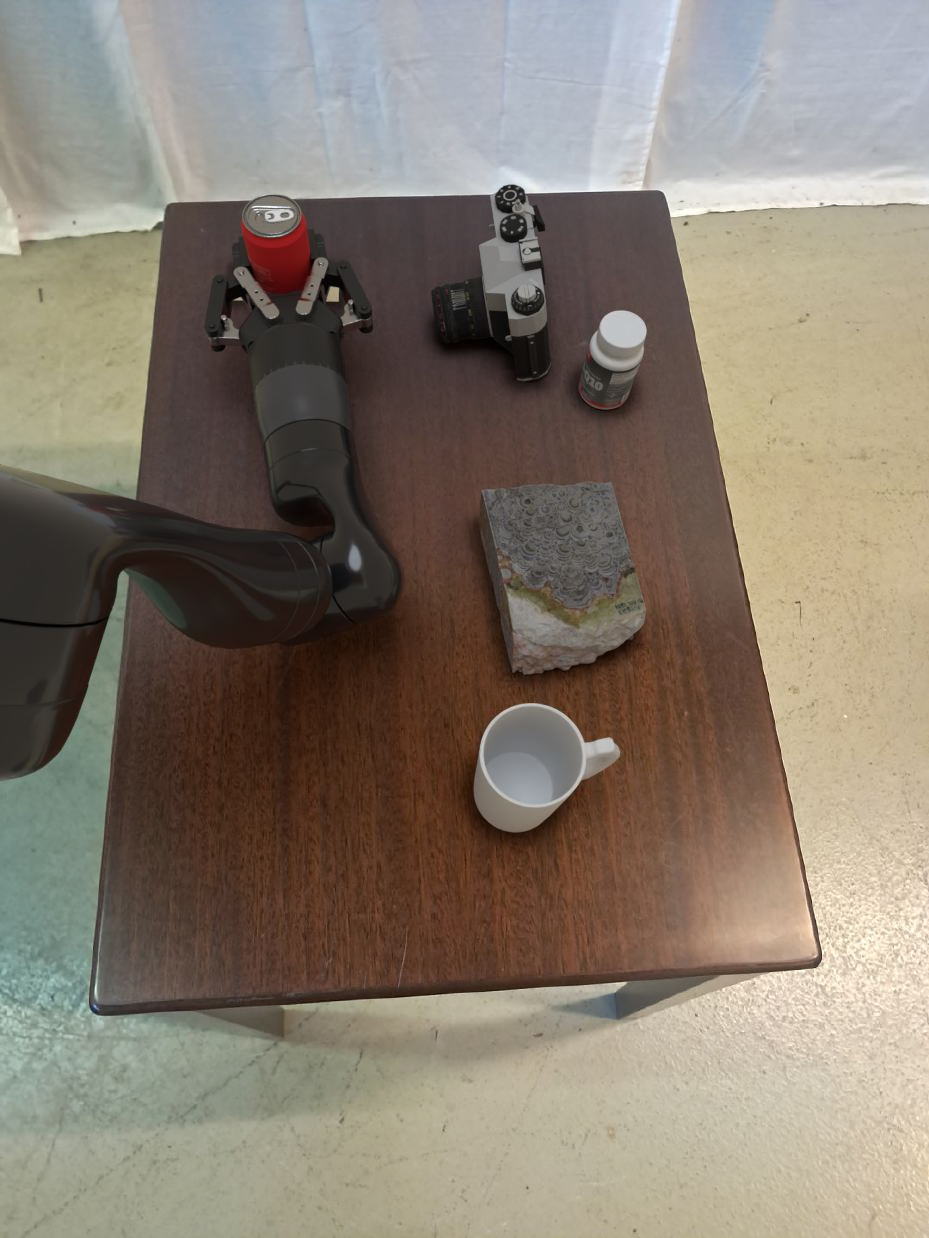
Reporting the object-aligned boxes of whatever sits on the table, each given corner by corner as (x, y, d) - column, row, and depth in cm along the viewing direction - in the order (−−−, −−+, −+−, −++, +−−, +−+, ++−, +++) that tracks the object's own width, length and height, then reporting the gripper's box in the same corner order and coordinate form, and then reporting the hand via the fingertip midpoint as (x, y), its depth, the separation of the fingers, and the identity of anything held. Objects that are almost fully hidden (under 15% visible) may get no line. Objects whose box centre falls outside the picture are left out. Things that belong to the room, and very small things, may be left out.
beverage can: (261, 301, 81) (236, 194, 70) (317, 296, 82) (300, 188, 71) (266, 345, 79) (241, 242, 68) (323, 339, 80) (307, 236, 69)
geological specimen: (607, 465, 71) (659, 629, 65) (592, 506, 77) (639, 660, 71) (480, 482, 70) (520, 650, 64) (474, 522, 75) (511, 680, 69)
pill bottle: (569, 377, 81) (585, 314, 73) (615, 364, 82) (635, 300, 74) (590, 417, 79) (608, 357, 72) (637, 403, 80) (660, 342, 72)
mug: (478, 843, 64) (490, 816, 53) (462, 755, 67) (470, 711, 56) (609, 820, 65) (647, 788, 54) (588, 734, 68) (621, 687, 57)
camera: (435, 275, 86) (415, 193, 77) (542, 254, 85) (536, 169, 76) (448, 396, 81) (429, 324, 72) (564, 376, 80) (559, 300, 71)
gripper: (390, 355, 66) (356, 194, 72) (198, 380, 64) (181, 213, 71) (393, 415, 73) (362, 263, 79) (220, 439, 71) (203, 281, 78)
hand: (277, 240), depth 75 cm, fingers closed on beverage can, 5 cm apart
